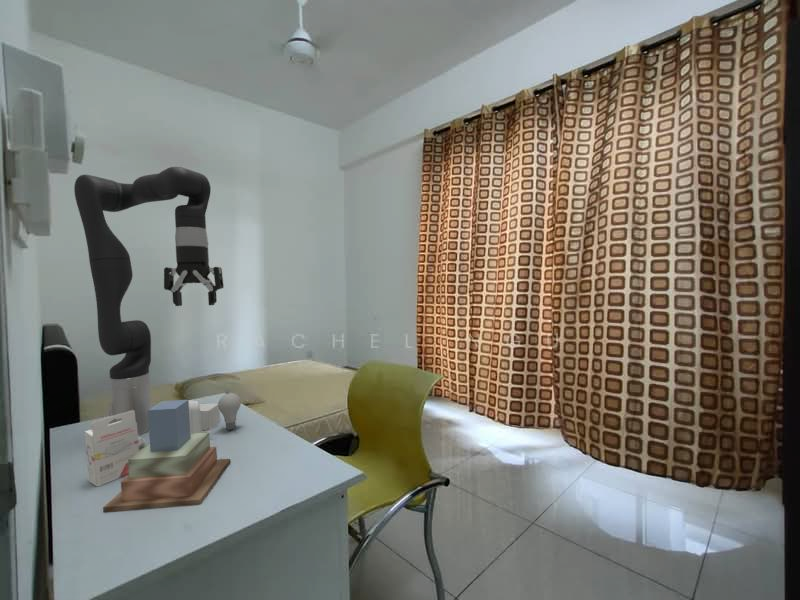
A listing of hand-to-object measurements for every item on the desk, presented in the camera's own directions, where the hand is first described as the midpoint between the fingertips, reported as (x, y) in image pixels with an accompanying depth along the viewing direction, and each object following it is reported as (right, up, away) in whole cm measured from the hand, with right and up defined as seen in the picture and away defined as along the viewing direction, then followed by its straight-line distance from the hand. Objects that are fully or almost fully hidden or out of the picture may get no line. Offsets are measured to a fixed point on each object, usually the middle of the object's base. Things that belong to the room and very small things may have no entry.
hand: (195, 305), depth 95 cm
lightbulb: (+5, -38, +10) cm, 39 cm away
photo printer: (-4, -39, 0) cm, 39 cm away
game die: (-15, -39, -1) cm, 42 cm away
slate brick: (+6, -30, -19) cm, 36 cm away
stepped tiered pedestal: (+6, -39, -18) cm, 44 cm away
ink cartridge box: (-11, -40, -14) cm, 43 cm away
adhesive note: (-4, -38, +13) cm, 40 cm away
